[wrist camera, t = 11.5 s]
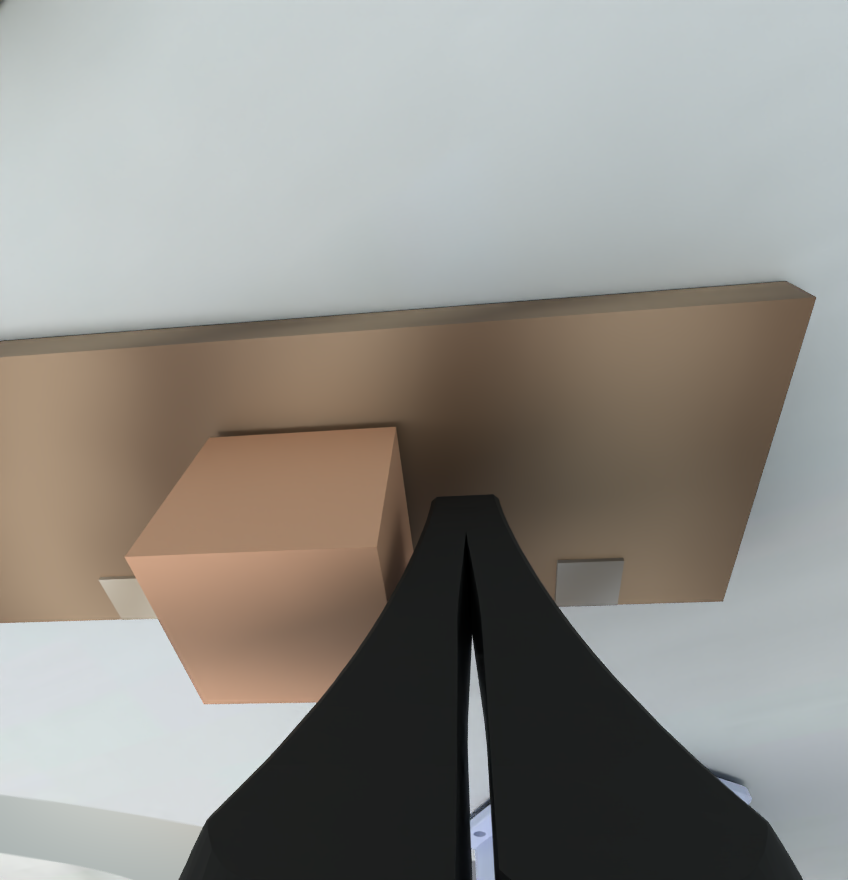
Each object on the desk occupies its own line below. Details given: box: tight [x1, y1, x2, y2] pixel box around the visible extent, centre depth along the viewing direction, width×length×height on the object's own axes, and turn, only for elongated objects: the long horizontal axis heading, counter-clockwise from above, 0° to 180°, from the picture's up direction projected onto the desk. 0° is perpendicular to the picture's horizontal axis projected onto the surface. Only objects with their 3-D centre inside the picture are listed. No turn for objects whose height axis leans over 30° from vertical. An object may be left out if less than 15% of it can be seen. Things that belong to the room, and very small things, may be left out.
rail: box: [0, 281, 816, 623], centre depth 13 cm, size 25×8×1 cm, turn 95°
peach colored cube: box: [125, 427, 413, 704], centre depth 11 cm, size 4×4×4 cm
